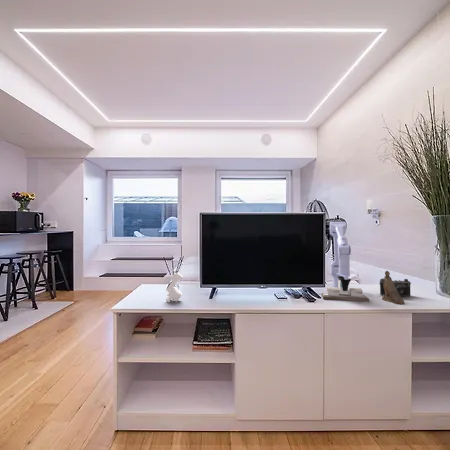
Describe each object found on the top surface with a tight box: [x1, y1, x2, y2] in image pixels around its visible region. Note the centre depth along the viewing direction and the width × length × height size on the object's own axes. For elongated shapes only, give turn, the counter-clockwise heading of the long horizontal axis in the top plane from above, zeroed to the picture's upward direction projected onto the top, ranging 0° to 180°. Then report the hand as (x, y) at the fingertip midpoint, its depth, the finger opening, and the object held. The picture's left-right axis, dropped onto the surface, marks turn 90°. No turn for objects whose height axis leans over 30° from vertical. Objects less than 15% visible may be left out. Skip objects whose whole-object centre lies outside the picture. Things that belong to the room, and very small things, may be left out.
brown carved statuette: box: [381, 270, 405, 305], centre depth 165 cm, size 12×6×18 cm, turn 13°
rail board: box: [321, 286, 370, 302], centre depth 171 cm, size 10×24×6 cm, turn 78°
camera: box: [378, 278, 412, 297], centre depth 174 cm, size 18×9×10 cm, turn 84°
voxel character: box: [165, 272, 184, 303], centre depth 167 cm, size 7×12×15 cm
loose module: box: [338, 280, 349, 294], centre depth 171 cm, size 5×4×7 cm
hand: (344, 289), depth 171 cm, fingers closed on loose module, 5 cm apart
